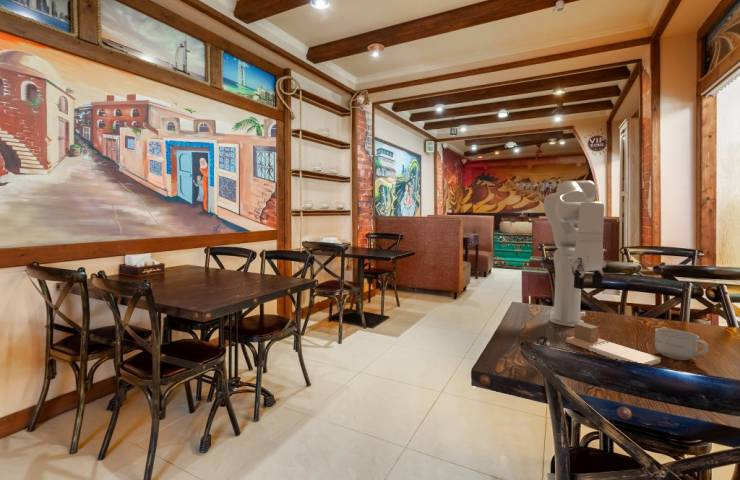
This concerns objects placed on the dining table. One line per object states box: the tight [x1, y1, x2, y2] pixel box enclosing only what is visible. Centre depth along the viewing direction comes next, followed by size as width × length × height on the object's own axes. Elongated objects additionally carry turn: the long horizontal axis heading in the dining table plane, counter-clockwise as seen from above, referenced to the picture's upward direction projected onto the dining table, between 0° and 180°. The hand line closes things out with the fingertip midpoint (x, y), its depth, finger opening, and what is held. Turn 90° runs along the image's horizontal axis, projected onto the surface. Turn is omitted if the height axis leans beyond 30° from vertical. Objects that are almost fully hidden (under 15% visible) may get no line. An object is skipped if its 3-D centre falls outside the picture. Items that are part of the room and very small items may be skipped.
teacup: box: [654, 327, 710, 361], centre depth 114 cm, size 14×11×8 cm
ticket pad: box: [588, 340, 662, 366], centre depth 116 cm, size 10×16×2 cm, turn 26°
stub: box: [565, 322, 607, 350], centre depth 127 cm, size 10×8×6 cm
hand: (588, 287), depth 126 cm, fingers open, 9 cm apart
